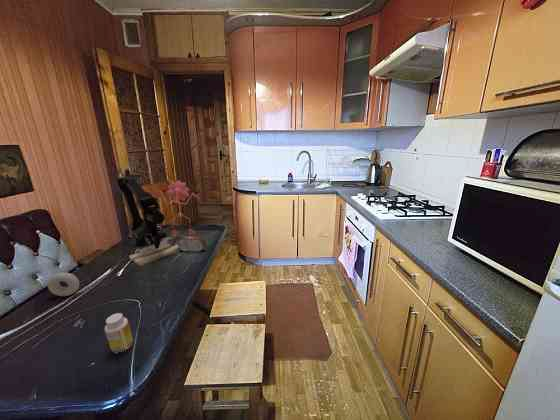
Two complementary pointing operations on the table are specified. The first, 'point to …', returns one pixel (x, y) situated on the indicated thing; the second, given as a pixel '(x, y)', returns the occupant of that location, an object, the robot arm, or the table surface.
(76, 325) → the blueberries
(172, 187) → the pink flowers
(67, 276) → the donut
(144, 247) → the tongs
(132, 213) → the robot arm
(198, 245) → the tin
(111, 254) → the table surface
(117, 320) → the supplement bottle
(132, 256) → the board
